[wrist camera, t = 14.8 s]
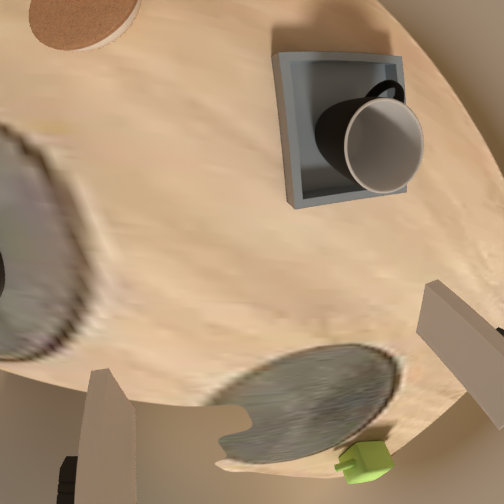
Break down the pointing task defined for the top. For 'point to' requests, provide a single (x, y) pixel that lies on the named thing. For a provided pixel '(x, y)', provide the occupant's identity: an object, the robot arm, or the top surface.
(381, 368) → the top surface
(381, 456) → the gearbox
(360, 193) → the gray tray
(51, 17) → the lidded jar
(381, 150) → the mug
